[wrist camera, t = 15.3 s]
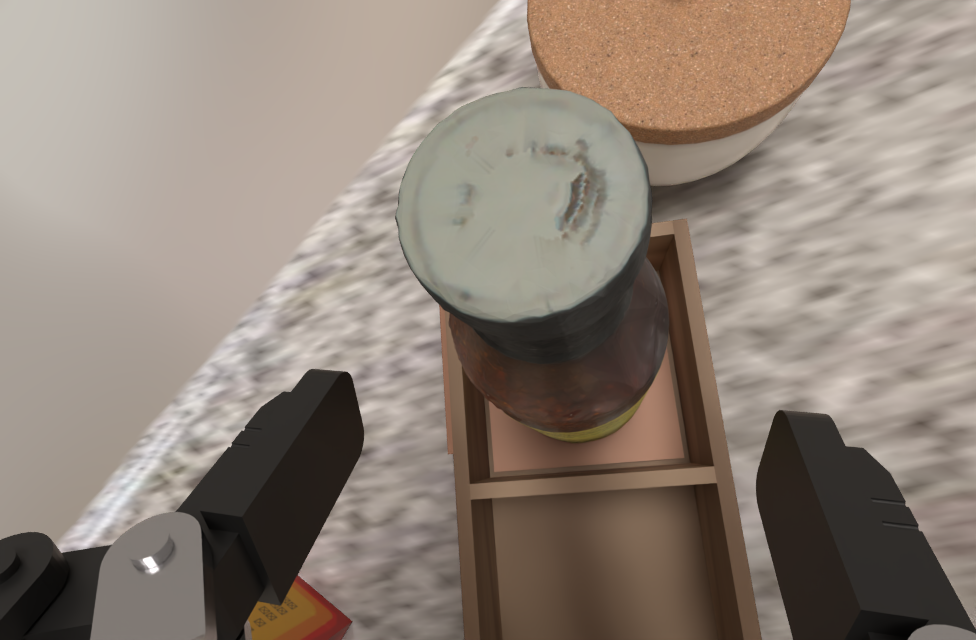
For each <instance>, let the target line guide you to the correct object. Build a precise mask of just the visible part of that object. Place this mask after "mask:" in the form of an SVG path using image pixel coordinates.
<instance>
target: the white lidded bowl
mask: <svg viewBox="0 0 976 640" xmlns="http://www.w3.org/2000/svg"><path fill="white" fill-rule="evenodd" d="M850 3H851V0H528V8H527V22H528V29H529V35H530V41H531V48H532V52H533V55H534V58H535V61H536V64H537V69H538V75H539V80H540V85H541V88H548V89H557V90H567V91H571V92H573V93H576V94H579V95H582V96H585V97H587V98H590V99H592V100H594V101H595V102H597V103H598V104H600V105H601V106H603V107H605V108H606V109H608V110H610V111H611V112H612V113H613V114H614V116H615V117H616V118H617V119H618V121H619V122H620V123H621V124H622V125H623V126H624V127H625V128H626V129H627V130H628V131H629V132H630V134H631V135H632V137H633V139H634V140H635V142H636V144H637V145H638V147H639V149H640V151H641V153H642V155H643V157H644V159H645V161H646V164H647V166H648V171H649V180H650V186H667V185H677V184H683V183H688V182H692V181H695V180H698V179H701V178H704V177H707V176H710V175H712V174H715V173H717V172H719V171H721V170H723V169H725V168H727V167H729V166H731V165H733V164H734V163H736V162H737V161H738V160H740V159H741V158H743V157H744V156H745V155H747V154H748V153H750V152H751V151H752V150H753V149H754V148H756V147H757V146H758V145H759V144H760V143H761V142H762V141H763V140H764V139H766V138H767V137H768V136H769V135H770V134H771V133H772V132H773V131H774V130H775V129H776V127H777V126H778V125H779V124H780V123H781V122H782V121H783V120H784V119H785V117H786V116H787V115H788V113H789V112H790V111H791V109H792V108H793V107H794V105H795V104H796V102H797V101H798V100H799V98H800V97H801V95H802V94H803V92H804V91H805V90H806V89H807V88H808V87H809V86H810V84H811V83H812V82H813V80H814V79H815V78H816V76H817V75H818V74H819V72H820V71H821V70H822V68H823V67H824V66H825V64H826V63H827V61H828V60H829V58H830V57H831V55H832V53H833V51H834V49H835V47H836V45H837V43H838V41H839V39H840V37H841V35H842V33H843V31H844V29H845V25H846V21H847V18H848V14H849V11H850Z"/></svg>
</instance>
